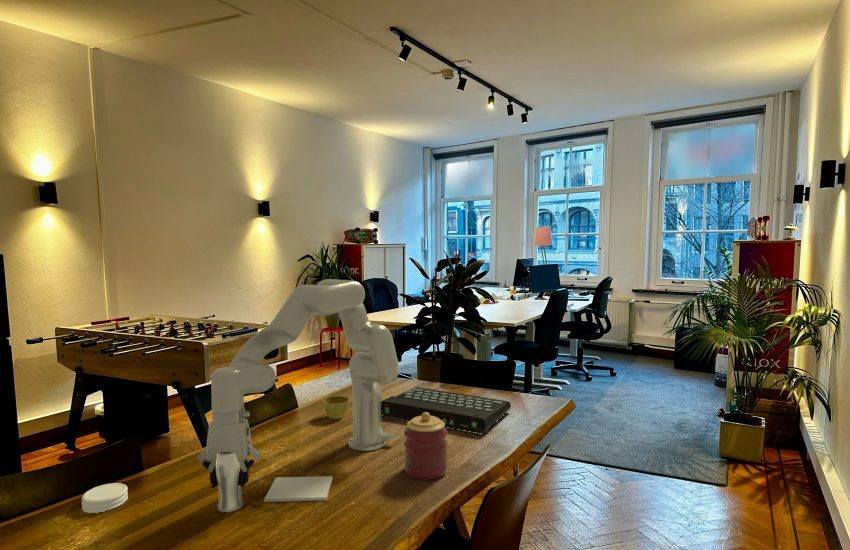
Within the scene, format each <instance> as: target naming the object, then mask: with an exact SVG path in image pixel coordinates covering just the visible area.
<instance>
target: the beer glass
mask: <svg viewBox="0 0 850 550" xmlns="http://www.w3.org/2000/svg"><path fill="white" fill-rule="evenodd" d="M241 472H242V469H241V464H240V462H238V460H237V457H236V453H231V454H220V453H217V456H216V462H215V475H216V481H217V489H218V502H217V510H218V511H219V512H220V513H224V512H226V513H233V512H236V511H238V510H240V509H241V508H243V506H244V501H243V496H242V488H241V487H240V473H241Z"/></svg>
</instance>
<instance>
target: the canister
mask: <svg viewBox="0 0 850 550" xmlns="http://www.w3.org/2000/svg"><path fill="white" fill-rule="evenodd" d="M444 426H445V423H444V422H443V421H442V420H440V419H439V418H437V417H435V416H430V414H429V413H428V412H424V413H423V414H422V416H417V417H415V418H413V419H412V420H410V421H407V422H406V428H405V429H404V431H403V434H404V436H405V440H404V443H403V445H404V462H403V465H404V466H403V468H404V472H405V474H406V475H407V476H409V477H410V478H412V479H417V480H419V481H421V480H423V481H425V480H426V481H432V480H436V478H437V479H440V478H443V476H445V475H446V473H448V467H449V465H448V464H449V463H448V445H449V444H448V440H447V436H448V434H449V433H448V432H449V431H448V429H447V428H444ZM439 477H440V478H439ZM431 479H432V480H431Z"/></svg>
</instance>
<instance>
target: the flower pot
mask: <svg viewBox="0 0 850 550" xmlns="http://www.w3.org/2000/svg"><path fill="white" fill-rule="evenodd" d="M322 402H323V403H322V404H323V407H324V411H325V413H326V414H327V416H328V418H329V419H330V418H331V419H330V420H333V419H338V420H341V419H340V418H342V419H343V418H344V416H345V415H346V412H347V410H348V408H349V403H350V398H349V397H347V396H346V395H345V396H344V395H334V396H333V395H332V396H328V397H325V398H324V399H322Z"/></svg>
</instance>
